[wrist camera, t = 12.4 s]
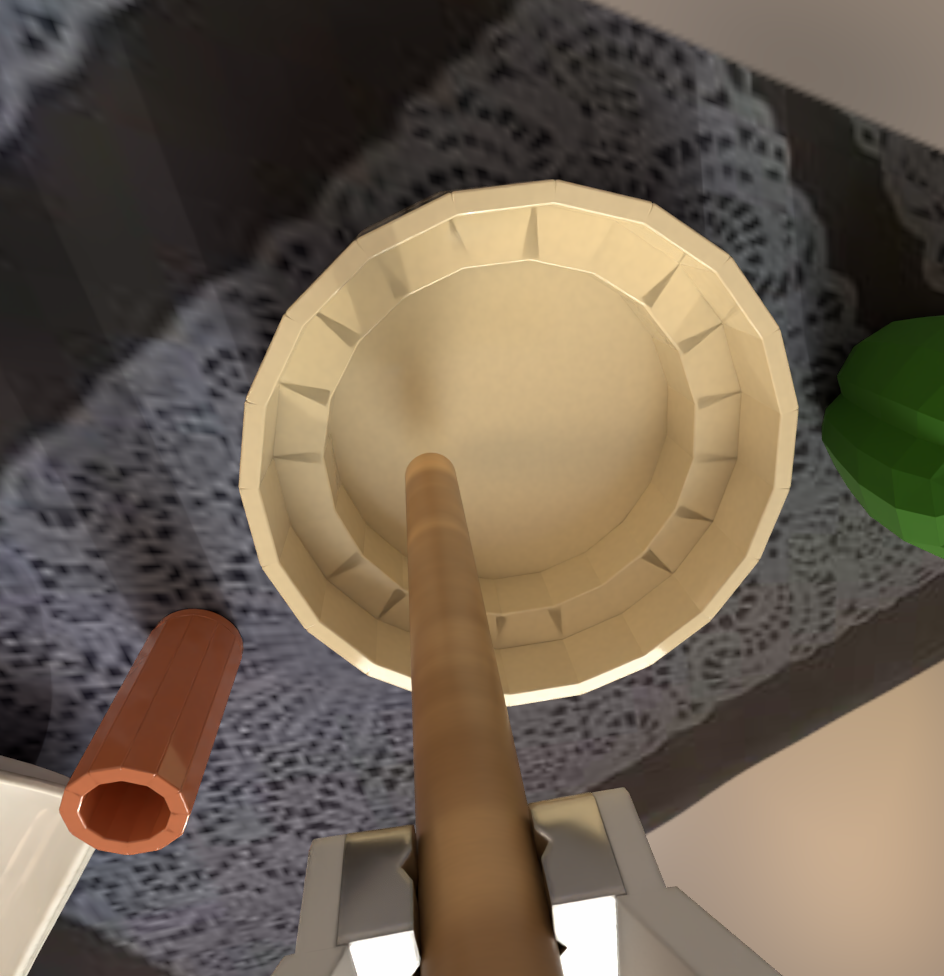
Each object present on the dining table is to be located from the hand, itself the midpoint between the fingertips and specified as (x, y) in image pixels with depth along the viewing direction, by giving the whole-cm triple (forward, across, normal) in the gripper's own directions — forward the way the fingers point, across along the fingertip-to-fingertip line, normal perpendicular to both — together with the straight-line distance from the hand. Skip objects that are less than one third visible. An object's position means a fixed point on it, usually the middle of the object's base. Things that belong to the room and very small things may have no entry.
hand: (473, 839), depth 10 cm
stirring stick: (+15, 0, 0) cm, 15 cm away
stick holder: (+17, +11, +8) cm, 22 cm away
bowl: (+17, -3, 0) cm, 18 cm away
